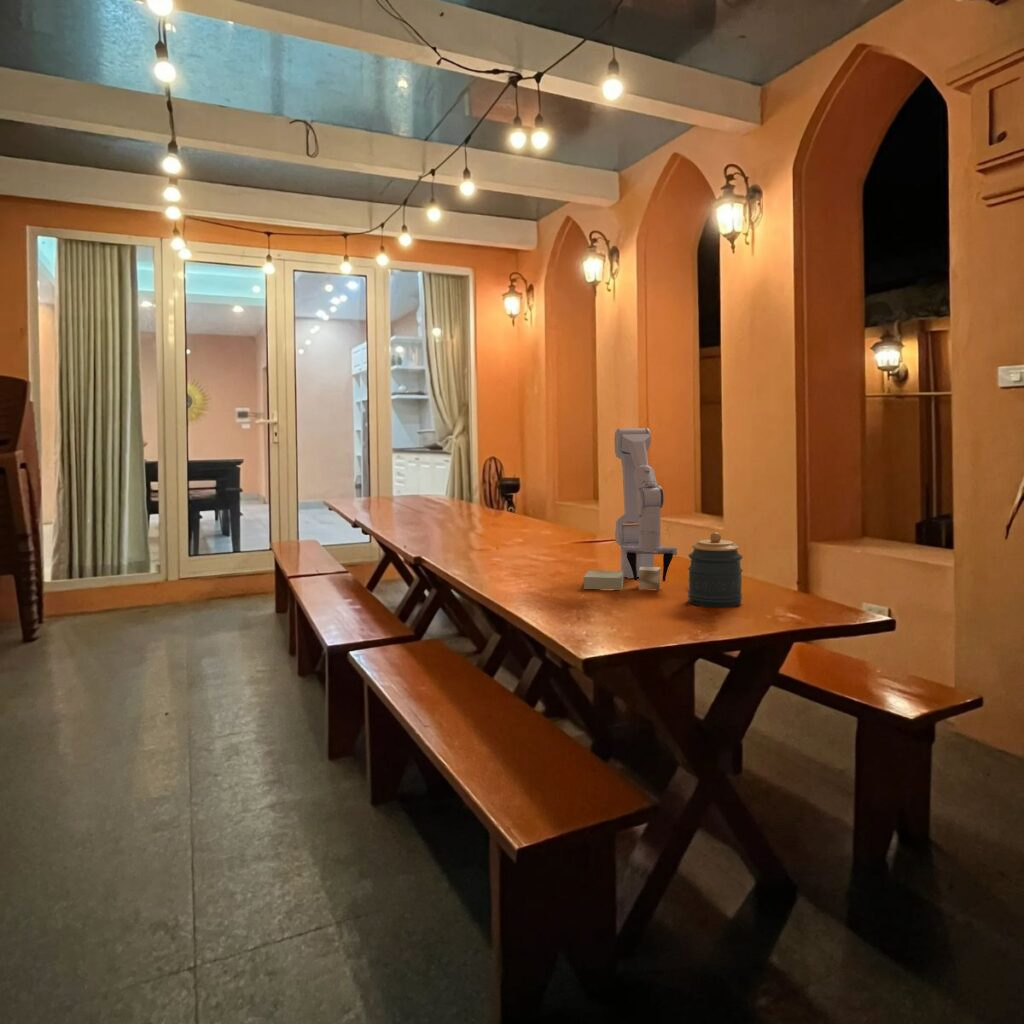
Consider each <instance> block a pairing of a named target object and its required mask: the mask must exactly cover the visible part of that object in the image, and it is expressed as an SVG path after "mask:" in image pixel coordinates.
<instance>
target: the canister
mask: <svg viewBox="0 0 1024 1024" xmlns="http://www.w3.org/2000/svg"><path fill="white" fill-rule="evenodd" d="M691 548H692V549H693V551H692V552H690V553H689V554H687V555H688V558H689V559H690V566H689V567H688V568H687V569H688V592H687V593H688V595H687V597H688V600H689V603H690V602H691V604H693V605H695V606H698V607H704V608H705V607H706V608H719V609H720V608H733V607H738V606H740V605H741V604H742V600H743V592H742V588H743V587H742V584H743V583H742V581H743V578H742V577H743V568H741V560H742V559H743V555H742V554H741V553H739V551H738V550H739V549H740V546H739V545H738V544H736V543H735V542H734V541H733V540H727V539H722V536H721V534H720V533H719V532H716V531H715V532H712V533H710V537H709V539H701V540H698V541H697V542H696V543H694V544H692V545H691Z"/></svg>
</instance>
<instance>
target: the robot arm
mask: <svg viewBox="0 0 1024 1024" xmlns="http://www.w3.org/2000/svg"><path fill="white" fill-rule="evenodd" d="M651 435H652V433H651V430H650V429H649V428H648V427H645V428H641V427H640V428H638V427H637V428H620V427H618V428H617V429H616V430H615V433H614V439H613V441H614V453H615V457H616V458H617V459H620V461H621V462H620V463H621V468H622V470H621V471H622V485H623V486H622V487H623V488H622V489H623V505H624V506H623V507H624V508H623V509H624V514H622V515H621V516H620V517H619V518H617V520H615V521H616V522H615V532H614V535H615V543H616V544H617V545H618V546H619V547H620V571H622V572H624V578H626V577H627V578H626V579H633V581H635V582H636V581H638V578H637V577H639V569H640V567H655V555H663V557H662V558H663V559H662V561H663V562H662V563H663V565H662V567H663V570H662V582H666V579H667V578H666V577H667V573H668V570H669V567H670V564H671V562H672V560H673V558H674V557H673V556H677V555H678V547H677V546H665V545H664V546H663V545H662V546H661V528H662V527H661V524H662V523H661V518H662V517H661V514H662V513H661V509H662V508H663V506H664V500H665V499H664V498H665V496H664V490H663V487H662V486H660V485H661V484H658V481H657V478H656V474H655V470H654V468H653V467H651V466H650V465H649V457H648V451H649V448H650V447H651V442H652V436H651Z"/></svg>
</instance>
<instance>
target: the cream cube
mask: <svg viewBox="0 0 1024 1024" xmlns="http://www.w3.org/2000/svg"><path fill="white" fill-rule="evenodd" d="M639 589H656V590H655V591H658V590H659V589H661V566H659V567H658V566H654V567H640V569H639V578H638V590H639ZM659 591H660V590H659Z"/></svg>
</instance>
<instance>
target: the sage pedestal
mask: <svg viewBox="0 0 1024 1024" xmlns="http://www.w3.org/2000/svg"><path fill="white" fill-rule="evenodd" d="M624 579H625V577H624V572H622V571H621V570H619V571H618V570H617V571H616V570H615V571H614V570H613V571H611V570H588V571H587V572H586V573H585V574H584V576H583V590H584V589H614V590H621V591H622V589H623V586H624V584H623V583H624ZM622 585H623V586H622ZM621 588H622V589H621Z"/></svg>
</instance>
